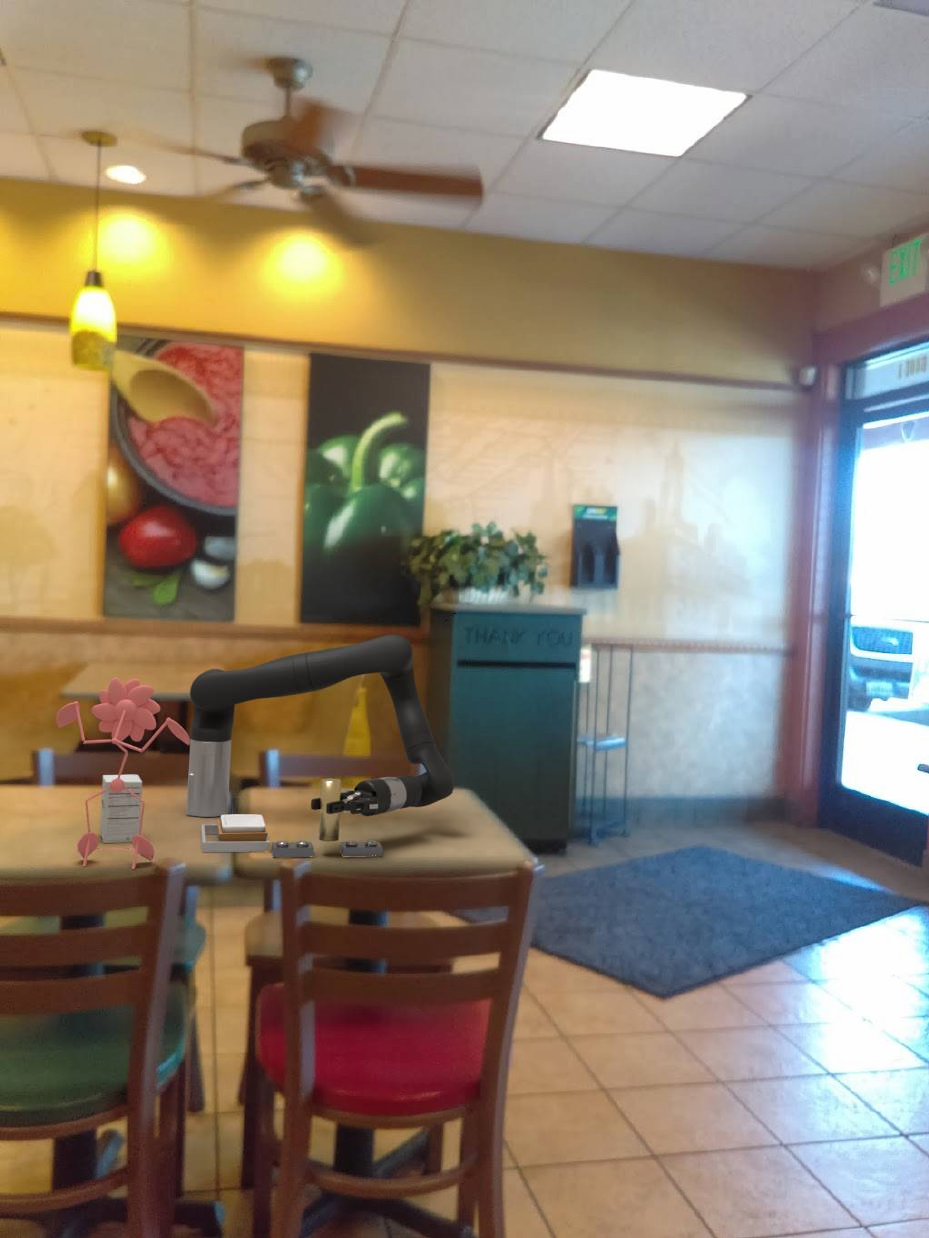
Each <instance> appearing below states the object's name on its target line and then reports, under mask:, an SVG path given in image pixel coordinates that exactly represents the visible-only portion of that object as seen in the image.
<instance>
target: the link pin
mask: <svg viewBox="0 0 929 1238" xmlns="http://www.w3.org/2000/svg"><path fill="white" fill-rule="evenodd" d="M341 790H342V780H341V779H339V778H323V779H321V780H320V797H321V800H320V809H319V830H318V840H320V841H323V842H337V841H339V840H340V818H341V817H340V816H341V815H340V814H341V812H339V813H334V814H327V813H326V805H327V803H329V802H335V801H340V797H341Z"/></svg>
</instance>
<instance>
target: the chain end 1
mask: <svg viewBox="0 0 929 1238" xmlns="http://www.w3.org/2000/svg"><path fill="white" fill-rule="evenodd" d="M314 849H315V848H314V844H313V843H312V842H311V841H308V840H297V841H292V842H291V841H287V840H277V841H276V842H275V841H274V842H271V850H270V853H271V852H272V853H271V856H273V857H310V856H313V857H314ZM273 857H272V858H273Z"/></svg>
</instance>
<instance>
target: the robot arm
mask: <svg viewBox="0 0 929 1238" xmlns="http://www.w3.org/2000/svg"><path fill="white" fill-rule="evenodd" d="M413 651H414V650H413V646H412V644H411V643H410V641H409V640H408V639H407V638H405V637H404V636H402V635H399V634H386V635H382V636H378V637H375V638H372V639H369V640H366V641H362V642H359V643H356V644H355V643H354V644H352V645H351V644H350V645H347V646H340V647H339V646H337V647H332V648H325V649H320V650H313V651H307V652H301V653H296V654H291V655H287V656H283V657H279V658H275V659H272V660H269V661H267V662H264V663H261V664H258V665H255V666H252V667H248V668H242V669H235V670H234V669H232V670H223V669H219V668H211V669H208V670H206V671H203V672H202V673H200V674H198V676H196V678H195V679H194V680H193V681H192V684H191V685H190V688H189V690H190V691H189V695H190V699H191V701H192V702H193V704H194V706H193V707H194V708H193V709H194V710H193V717H192V722H191V723H192V724H191V725H190V726H191V727H190V736H189V738H190V744H189V761H188V762H189V764H188V772H187V773H188V777H187V792H186V793H187V794H186V795H187V797H186V798H187V799H186V816H193V817H202V818H204V817H206V818H207V817H208V818H213V817H214V818H215V817H221V815H228V810H229V795H230V794H229V792H230V791H229V790H230V772H231V771H230V770H231V769H230V768H231V755H232V754H231V753H232V736H233V726H234V723H235V722H234V721H235V719H234V718H235V706H236V705H239V704H242V703H245V702H249V701H253V700H261V699H262V700H263V699H270V698H271V699H272V698H282V697H289V696H296V695H303V694H307V693H312V692H318V691H321V690H324V689H327V688H330V687H333V686H334V685H337V684H338V683H341V682H343V681H346V680H348V679H351V678H354V677H357V676H362V675H368V674H377V673H379V674H380V676H381V677H382V680H383V682H384V685H385V686H386V688H387V690H388V693H389V696H390V698H391V701H392V704H393V708H394V713H395V715H396V721H397V725H398V730H399V734H400V738H401V740H402V745H403V748H404V751H405V755H406V758H407V760H408V762H409V763H410V764H412V765H421V764H422V767H423V768H424V769H425V771H426V772H424V773H421V774H419V775H416V776H412V775H409V774H405V775H404V774H403V775H398V776H393V777H392V776H385V777H379V778H372V779H365V780H362V781H360V782H358V783H357V784H356V786H355V787H354V788H353V789H352V788H350V789H346V790H344V791H343V790H342V791H341V797H340V801H335V802H329V803H327V805H326V813H327V814H334V813H339V812H340V813H343V814H348V813H350V814H351V815H356V814H361V815H362V816H364V817H372V816H378V815H383V814H387V813H388V814H389V813H393V812H395V811H397V810H402V809H407V808H423V807H427V806H430V805H433V804H435V803H437V802H439V801H441V800H444V799H446V798H448V797H450V796H451V795H452V794H453V791H454V790H455V789H454V787H455V780H454V775H453V773H452V771H451V769H450V768H449V766H448V765H447V763H446V762H445V759H443V756H442V755H441V754H440V751H439V750H438V749H437V745H436V741H435V739H434V736H433V732H432V729H431V726H430V723H429V719H428V717H427V715H426V711H425V710H424V708H423V705H422V702H421V699H420V695H419V693H418V688H417V684H416V679H415V673H414V670H415V669H414V653H413ZM320 800H321V796H320V797H315V798H312V799H311V802H310V809H311V810H312V811H313V810H314V811H318V810H320Z"/></svg>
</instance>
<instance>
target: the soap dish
mask: <svg viewBox="0 0 929 1238" xmlns="http://www.w3.org/2000/svg"><path fill="white" fill-rule="evenodd" d="M216 821H217V824H218V829H219V834H218V835H219V837H220V838H219V839H220V842H244V841H265V840H266V838H267V835H268V836H269V832H268V828H267V825H266V822H265V819H264V817H263V815H262V814H254V813H253V814H251V813H250V814H244V813H243V814H242V813H241V814H238V813H236V814H235V813H234V814H233V813H231V814H225V815H221V816H220V819H217V820H216Z"/></svg>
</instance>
